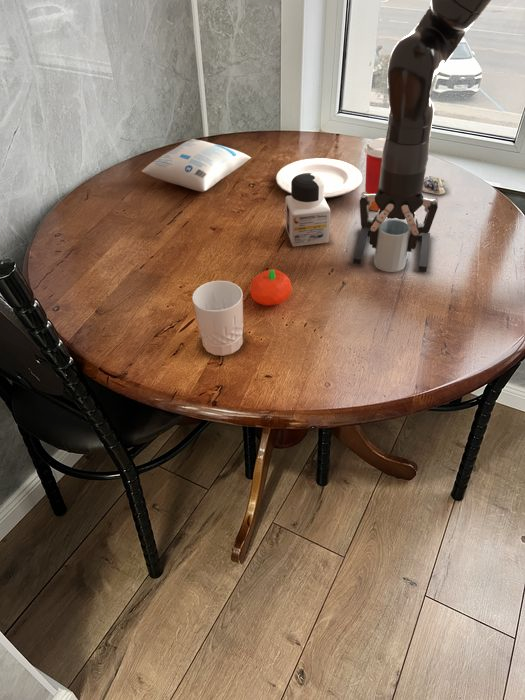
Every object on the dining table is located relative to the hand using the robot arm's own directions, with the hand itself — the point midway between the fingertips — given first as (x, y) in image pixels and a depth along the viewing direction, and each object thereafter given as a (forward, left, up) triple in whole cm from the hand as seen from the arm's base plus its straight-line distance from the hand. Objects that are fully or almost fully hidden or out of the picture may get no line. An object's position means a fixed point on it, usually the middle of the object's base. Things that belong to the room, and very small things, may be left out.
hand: (391, 247), depth 103 cm
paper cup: (+5, -23, -4) cm, 24 cm away
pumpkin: (+20, +16, -4) cm, 26 cm away
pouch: (+50, -28, -4) cm, 57 cm away
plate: (+20, -31, -4) cm, 37 cm away
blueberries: (-7, -34, -4) cm, 35 cm away
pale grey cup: (0, 0, -4) cm, 4 cm away
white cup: (+25, +29, -4) cm, 39 cm away
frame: (0, -4, -4) cm, 5 cm away
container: (+18, -7, -4) cm, 20 cm away
